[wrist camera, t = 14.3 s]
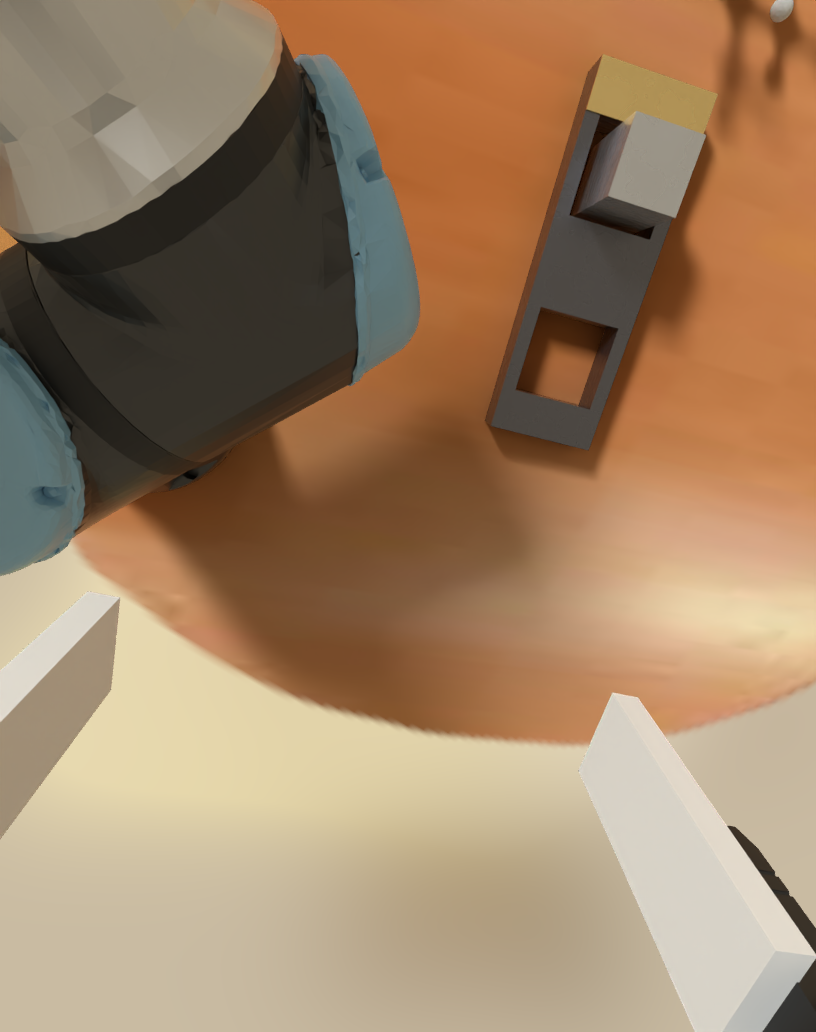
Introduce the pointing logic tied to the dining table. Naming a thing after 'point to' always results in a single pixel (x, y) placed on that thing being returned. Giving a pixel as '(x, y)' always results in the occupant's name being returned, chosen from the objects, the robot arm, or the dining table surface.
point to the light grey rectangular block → (638, 174)
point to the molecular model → (781, 10)
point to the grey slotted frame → (590, 257)
